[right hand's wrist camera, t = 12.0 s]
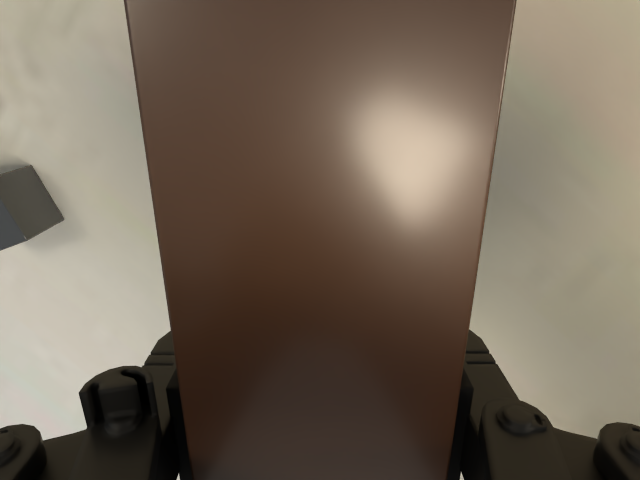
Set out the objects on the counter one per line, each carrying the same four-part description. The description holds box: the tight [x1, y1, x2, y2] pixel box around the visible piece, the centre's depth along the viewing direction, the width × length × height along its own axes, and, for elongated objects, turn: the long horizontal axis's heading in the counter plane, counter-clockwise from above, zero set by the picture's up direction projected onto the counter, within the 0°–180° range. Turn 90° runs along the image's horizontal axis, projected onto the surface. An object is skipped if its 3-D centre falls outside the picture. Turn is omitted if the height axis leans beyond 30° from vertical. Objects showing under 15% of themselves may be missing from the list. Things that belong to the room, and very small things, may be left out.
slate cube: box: [0, 165, 64, 251], centre depth 27 cm, size 4×4×4 cm
